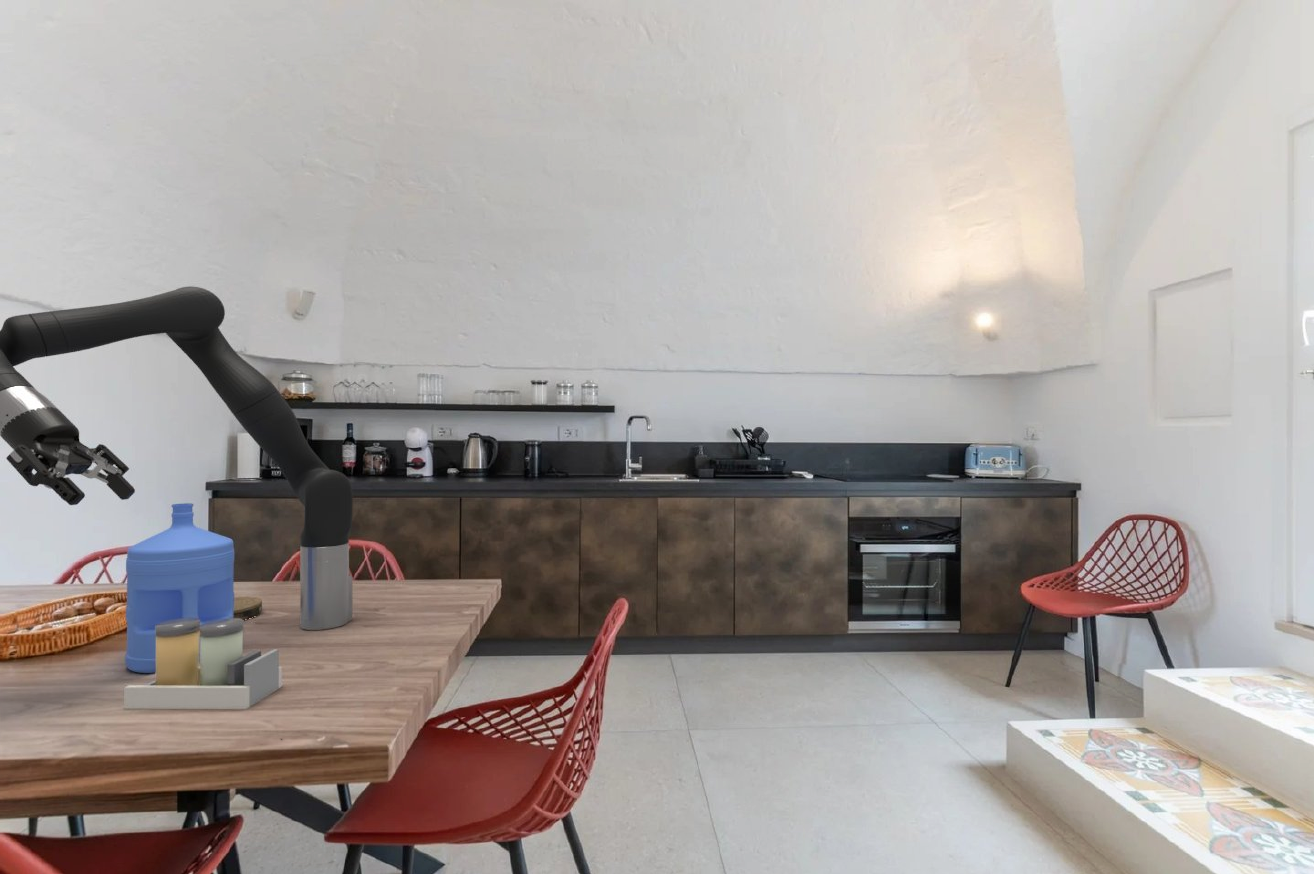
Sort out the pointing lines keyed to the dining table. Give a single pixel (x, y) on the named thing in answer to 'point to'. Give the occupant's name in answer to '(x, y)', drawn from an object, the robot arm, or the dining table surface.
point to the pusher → (239, 669)
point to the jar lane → (211, 690)
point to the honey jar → (177, 652)
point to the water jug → (175, 583)
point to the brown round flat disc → (246, 607)
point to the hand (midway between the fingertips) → (105, 498)
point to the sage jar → (219, 649)
